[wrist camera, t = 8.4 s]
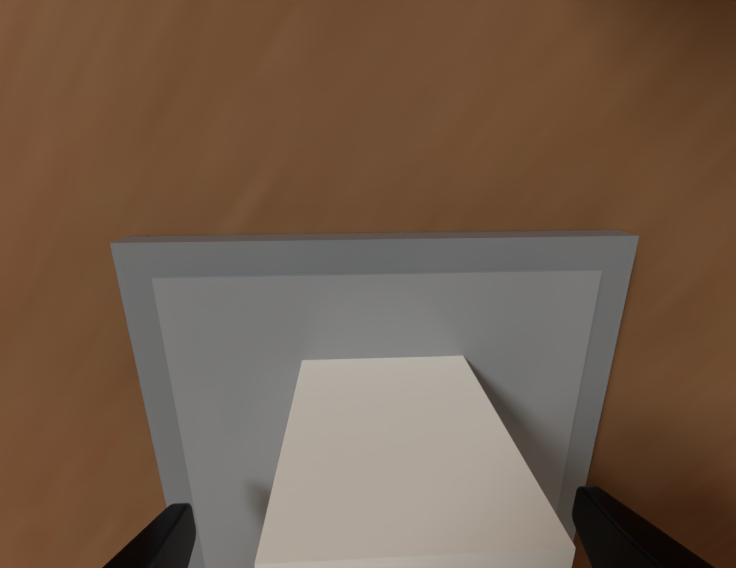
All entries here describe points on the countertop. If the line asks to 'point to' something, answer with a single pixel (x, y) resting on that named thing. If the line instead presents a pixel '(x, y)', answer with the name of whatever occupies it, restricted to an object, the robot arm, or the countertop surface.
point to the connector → (403, 474)
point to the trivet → (361, 347)
